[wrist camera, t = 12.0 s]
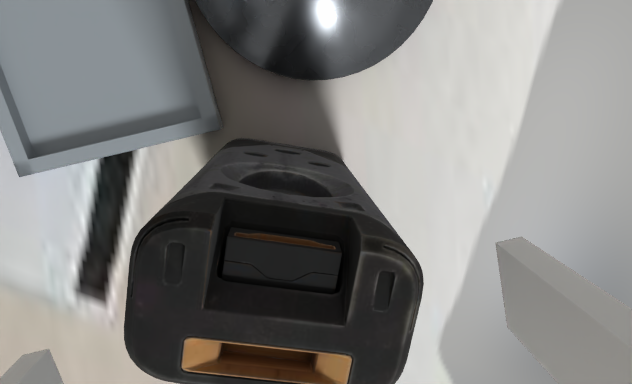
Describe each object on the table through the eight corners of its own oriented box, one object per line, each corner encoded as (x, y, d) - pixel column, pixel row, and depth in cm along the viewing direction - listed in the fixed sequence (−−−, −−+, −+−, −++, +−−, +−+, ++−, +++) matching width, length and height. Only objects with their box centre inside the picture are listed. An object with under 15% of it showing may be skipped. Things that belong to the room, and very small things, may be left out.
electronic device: (349, 154, 33) (438, 249, 14) (335, 230, 35) (398, 414, 15) (222, 133, 32) (129, 205, 13) (213, 212, 34) (115, 385, 14)
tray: (32, 172, 32) (19, 177, 31) (-63, -71, 28) (-84, -80, 27) (223, 127, 32) (220, 129, 31) (154, -121, 28) (146, -133, 27)
